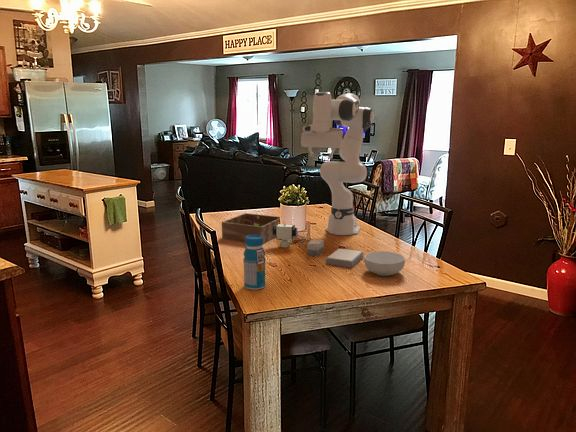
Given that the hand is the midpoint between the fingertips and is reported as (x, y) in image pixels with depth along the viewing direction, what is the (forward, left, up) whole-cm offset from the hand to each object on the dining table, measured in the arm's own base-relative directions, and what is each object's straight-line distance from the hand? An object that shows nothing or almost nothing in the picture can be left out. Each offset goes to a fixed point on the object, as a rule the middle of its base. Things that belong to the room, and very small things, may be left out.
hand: (321, 157), depth 224 cm
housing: (+10, +2, -45) cm, 46 cm away
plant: (-4, -40, -45) cm, 60 cm away
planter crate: (-4, -40, -45) cm, 60 cm away
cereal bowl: (+22, +38, -45) cm, 63 cm away
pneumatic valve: (+6, -16, -45) cm, 48 cm away
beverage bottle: (+59, -3, -45) cm, 74 cm away
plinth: (+14, +18, -45) cm, 50 cm away
